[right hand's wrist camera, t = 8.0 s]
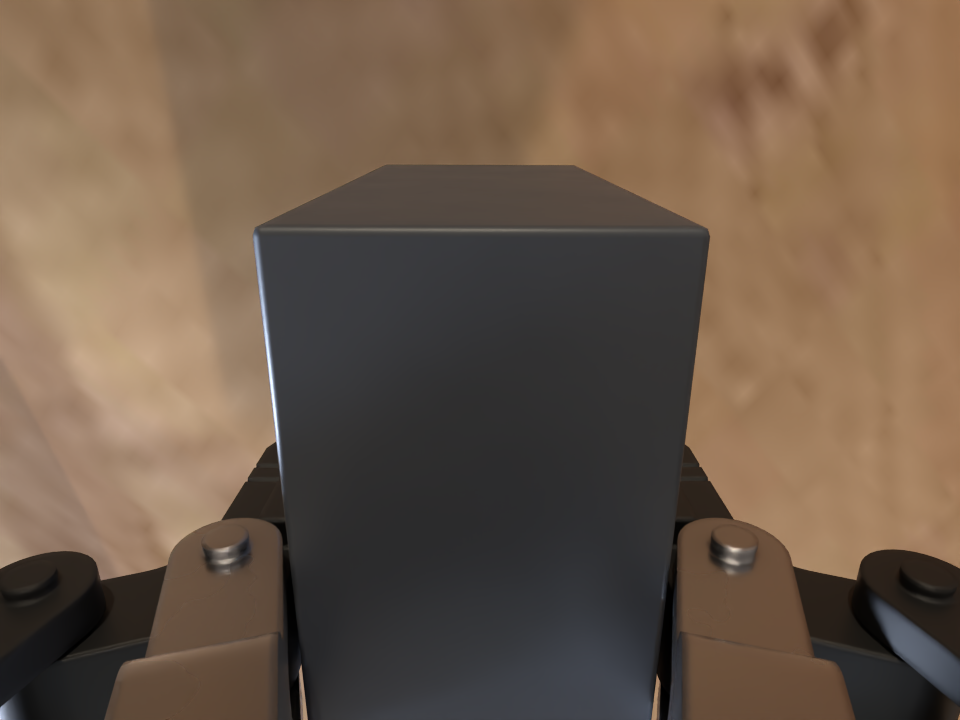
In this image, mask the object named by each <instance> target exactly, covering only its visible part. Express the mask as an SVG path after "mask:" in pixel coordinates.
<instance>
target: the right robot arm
mask: <svg viewBox="0 0 960 720" xmlns="http://www.w3.org/2000/svg"><path fill="white" fill-rule="evenodd" d="M256 465H257V467H256V468H254V469H253V471H252V472H251V474H250V476H249V477H248V482H245V483H244V485H243V487H242V488H241V490H240V491H239V493H238V495H237V496H236V498H235V499H234V501H233V503H232V504H231V506H230V507H229V509H228V510H227V512H226V514H225V515H224V517H223V518H222V520H221V521H218V522H215V523H211V524H209V525H206V526H204V527H201V528H199V529H197V530H195V531H194V532H192V533H190V534H189V535H187V536H186V537H185V538H183V539H182V540H181V541H180V542H179V543H178V544H177V545H176V546H175V547H174V549H173V550H172V552H171V554H170V557H169V561H168V565H167V566H164V567H161V568H158V569H154V570H150V571H146V572H141V573H136V574H131V575H126V576H122V577H117V578H112V579H107V580H102V581H101V580H100V576H99V572H98V568H97V565H96V562H95V561H94V560H93V559H92V558H91V557H89V556H88V555H85V554H82V553H78V552H71V551H60V552H50V553H44V554H40V555H36V556H32V557H28V558H25V559H22V560H19V561H17V562H14V563H12V564H10V565H7V566H5V567H3V568H1V569H0V720H303V706H302V692H301V684H300V676H299V669H300V666H301V655H300V646H299V637H298V629H297V620H296V611H295V602H294V593H293V585H292V576H291V567H290V558H289V549H288V541H287V532H286V523H285V514H284V505H283V497H282V488H281V479H280V470H279V461H278V453H277V444H276V442H275V443H274V444H272V445H271V446H269V447H268V448H267V449H266V450H265V452H264V453H263V455H262V457H261V458H260V460H259V461H258V463H257V464H256ZM657 675H658V678H659V680H660V684H659V692H658V704H657V720H958V717H959V714H960V569H959V568H958V567H956V566H953V565H951V564H949V563H947V562H945V561H942V560H940V559H937V558H934V557H931V556H928V555H925V554H921V553H917V552H912V551H906V550H880V551H876V552H873V553H870V554H868V555H867V556H865V557H864V559H863V560H862V561H861V564H860V568H859V572H858V576H857V580H852V579H847V578H842V577H837V576H833V575H828V574H823V573H818V572H813V571H808V570H804V569H800V568H797V567H794V566H793V565H792V561H791V557H790V555H789V552H788V550H787V549H786V548H785V546H784V545H783V544H782V543H781V542H780V541H779V540H778V539H777V538H775V537H774V536H773V535H771V534H770V533H768V532H766V531H765V530H763V529H761V528H759V527H756V526H754V525H751V524H749V523H745V522H742V521H738V520H734V519H733V517H732V516H731V514H730V513H729V511H728V509H727V508H726V506H725V505H724V503H723V501H722V500H721V498H720V497H719V495H718V493H717V492H716V490H715V488H714V487H713V485H712V484H711V482H710V481H708V477H707V476H706V474H705V472H704V471H703V469H702V468H701V467H699V463H698V461H697V459H696V458H695V456H694V455H693V453H692V451H691V450H690V448H689V447H688V446H686V445H685V446H684V454H683V462H682V470H681V479H680V487H679V495H678V503H677V512H676V520H675V528H674V536H673V544H672V553H671V561H670V569H669V577H668V586H667V594H666V602H665V610H664V618H663V627H662V635H661V643H660V651H659V660H658V668H657Z"/></svg>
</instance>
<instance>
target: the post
mask: <svg viewBox="0 0 960 720" xmlns="http://www.w3.org/2000/svg"><path fill="white" fill-rule="evenodd" d="M709 240H710V235H709V232H708V229H707V228H705V227H703V226H701V225H698V224H696V223H694V222H692V221H690V220H688V219H686V218H684V217H682V216H680V215H677V214H675V213H673V212H671V211H669V210H667V209H665V208H663V207H661V206H658V205H656V204H654V203H652V202H650V201H648V200H646V199H644V198H642V197H639V196H637V195H635V194H633V193H631V192H629V191H627V190H625V189H623V188H621V187H618V186H616V185H614V184H612V183H610V182H608V181H606V180H604V179H602V178H599V177H597V176H595V175H593V174H591V173H589V172H587V171H585V170H583V169H581V168H578V167H576V166H574V165H385V166H382V167H380V168H378V169H376V170H374V171H372V172H370V173H368V174H366V175H364V176H362V177H360V178H357V179H355V180H353V181H351V182H349V183H347V184H345V185H343V186H341V187H339V188H337V189H334V190H332V191H330V192H328V193H326V194H324V195H322V196H320V197H318V198H316V199H314V200H311V201H309V202H307V203H305V204H303V205H301V206H299V207H297V208H295V209H293V210H291V211H289V212H286V213H284V214H282V215H280V216H278V217H276V218H274V219H272V220H270V221H268V222H266V223H263V224H261V225H259V226H257V227H255V230H254V233H253V242H254V250H255V259H256V268H257V277H258V286H259V294H260V303H261V312H262V321H263V330H264V338H265V347H266V356H267V365H268V373H269V382H270V391H271V400H272V409H273V417H274V426H275V435H276V444H277V453H278V461H279V470H280V479H281V488H282V497H283V505H284V514H285V523H286V532H287V541H288V549H289V558H290V567H291V576H292V585H293V593H294V602H295V611H296V620H297V629H298V637H299V646H300V655H301V664H302V673H303V681H304V690H305V699H306V708H307V717H308V720H651V717H652V709H653V701H654V692H655V684H656V676H657V668H658V660H659V651H660V643H661V635H662V627H663V618H664V610H665V602H666V594H667V586H668V577H669V569H670V561H671V553H672V544H673V536H674V528H675V520H676V512H677V503H678V495H679V487H680V479H681V470H682V462H683V454H684V446H685V438H686V429H687V421H688V413H689V405H690V396H691V388H692V380H693V372H694V364H695V355H696V347H697V339H698V331H699V322H700V314H701V306H702V298H703V290H704V281H705V273H706V265H707V257H708V248H709Z"/></svg>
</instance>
